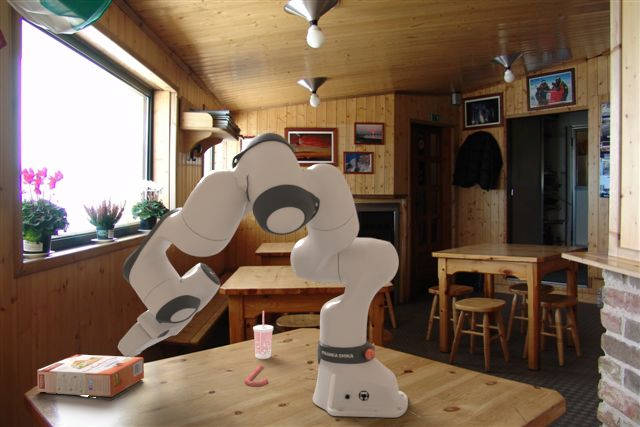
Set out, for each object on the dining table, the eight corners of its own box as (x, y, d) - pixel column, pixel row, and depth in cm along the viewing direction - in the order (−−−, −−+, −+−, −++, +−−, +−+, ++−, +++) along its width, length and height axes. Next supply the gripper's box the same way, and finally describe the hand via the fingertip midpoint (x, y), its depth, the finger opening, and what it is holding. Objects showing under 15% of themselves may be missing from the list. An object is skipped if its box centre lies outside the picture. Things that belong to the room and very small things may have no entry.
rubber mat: (143, 381, 131) (143, 380, 131) (111, 400, 119) (111, 399, 119) (113, 378, 133) (113, 377, 133) (78, 396, 121) (78, 395, 121)
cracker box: (111, 372, 118) (35, 369, 122) (112, 397, 118) (36, 394, 122) (144, 355, 132) (74, 353, 136) (145, 378, 132) (75, 375, 136)
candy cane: (279, 370, 142) (279, 365, 142) (264, 389, 128) (264, 383, 128) (259, 368, 144) (259, 363, 144) (241, 387, 129) (241, 381, 129)
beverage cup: (275, 354, 155) (276, 309, 155) (269, 360, 149) (269, 313, 149) (257, 352, 157) (257, 308, 156) (250, 358, 151) (250, 312, 150)
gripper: (181, 299, 132) (148, 333, 135) (136, 316, 112) (98, 356, 115) (197, 317, 131) (163, 351, 134) (153, 337, 111) (115, 377, 114)
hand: (132, 353), depth 124 cm, fingers closed
